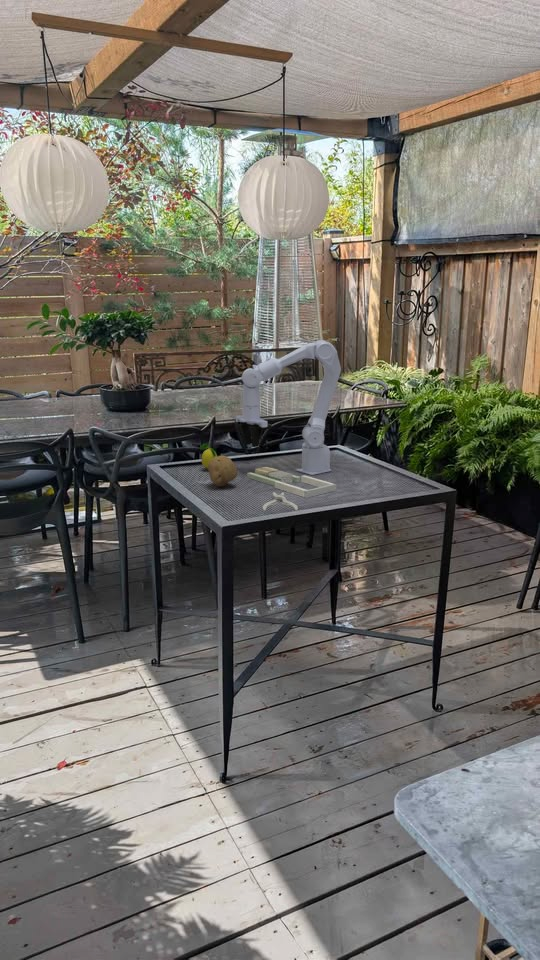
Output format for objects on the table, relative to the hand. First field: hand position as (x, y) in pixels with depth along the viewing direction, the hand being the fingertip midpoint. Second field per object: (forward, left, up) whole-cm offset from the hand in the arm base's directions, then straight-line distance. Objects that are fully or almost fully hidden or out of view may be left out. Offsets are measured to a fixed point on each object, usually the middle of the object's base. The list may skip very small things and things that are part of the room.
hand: (251, 445), depth 235 cm
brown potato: (+18, +8, -10) cm, 22 cm away
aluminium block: (0, +15, -10) cm, 18 cm away
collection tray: (0, +26, -9) cm, 28 cm away
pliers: (+16, +33, -10) cm, 38 cm away
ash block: (0, +8, -10) cm, 13 cm away
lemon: (+9, -12, -10) cm, 18 cm away
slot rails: (0, +12, -9) cm, 15 cm away
